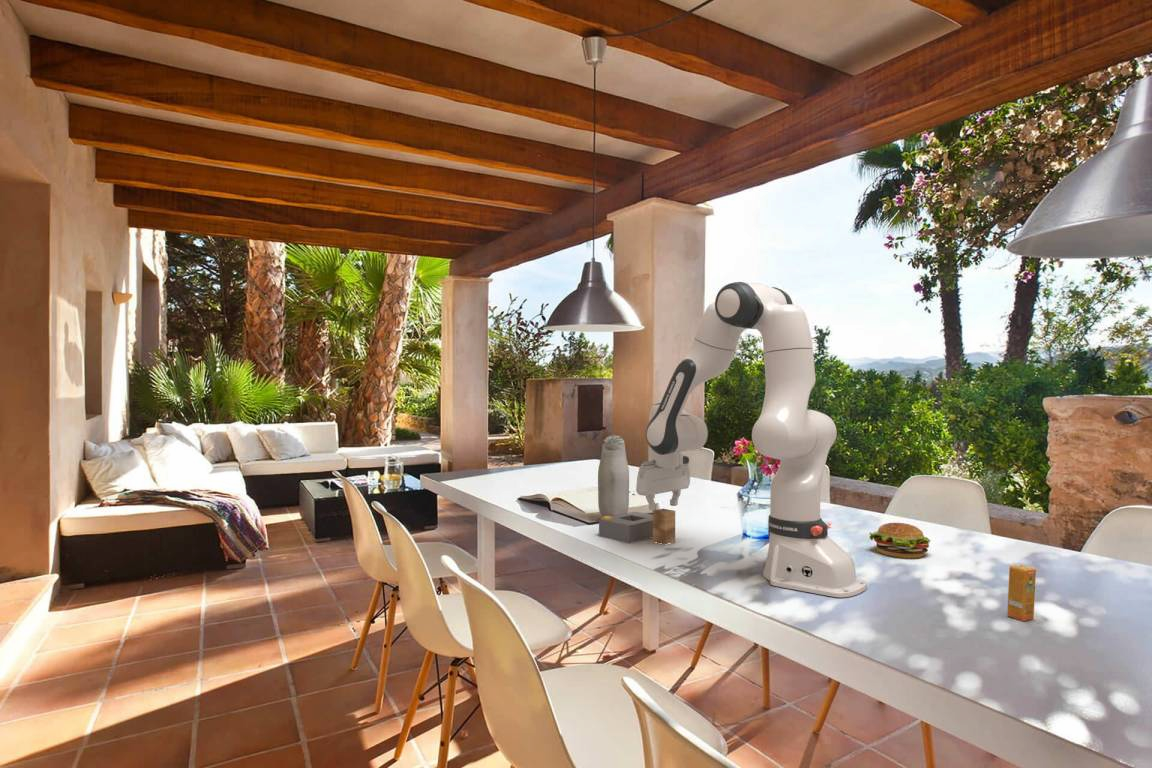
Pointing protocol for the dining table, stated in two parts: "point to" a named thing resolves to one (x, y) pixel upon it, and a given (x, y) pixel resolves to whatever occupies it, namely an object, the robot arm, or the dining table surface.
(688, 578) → the dining table surface
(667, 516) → the oak peg
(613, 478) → the gray bottle
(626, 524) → the socket block
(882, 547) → the food
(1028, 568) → the supplement box
